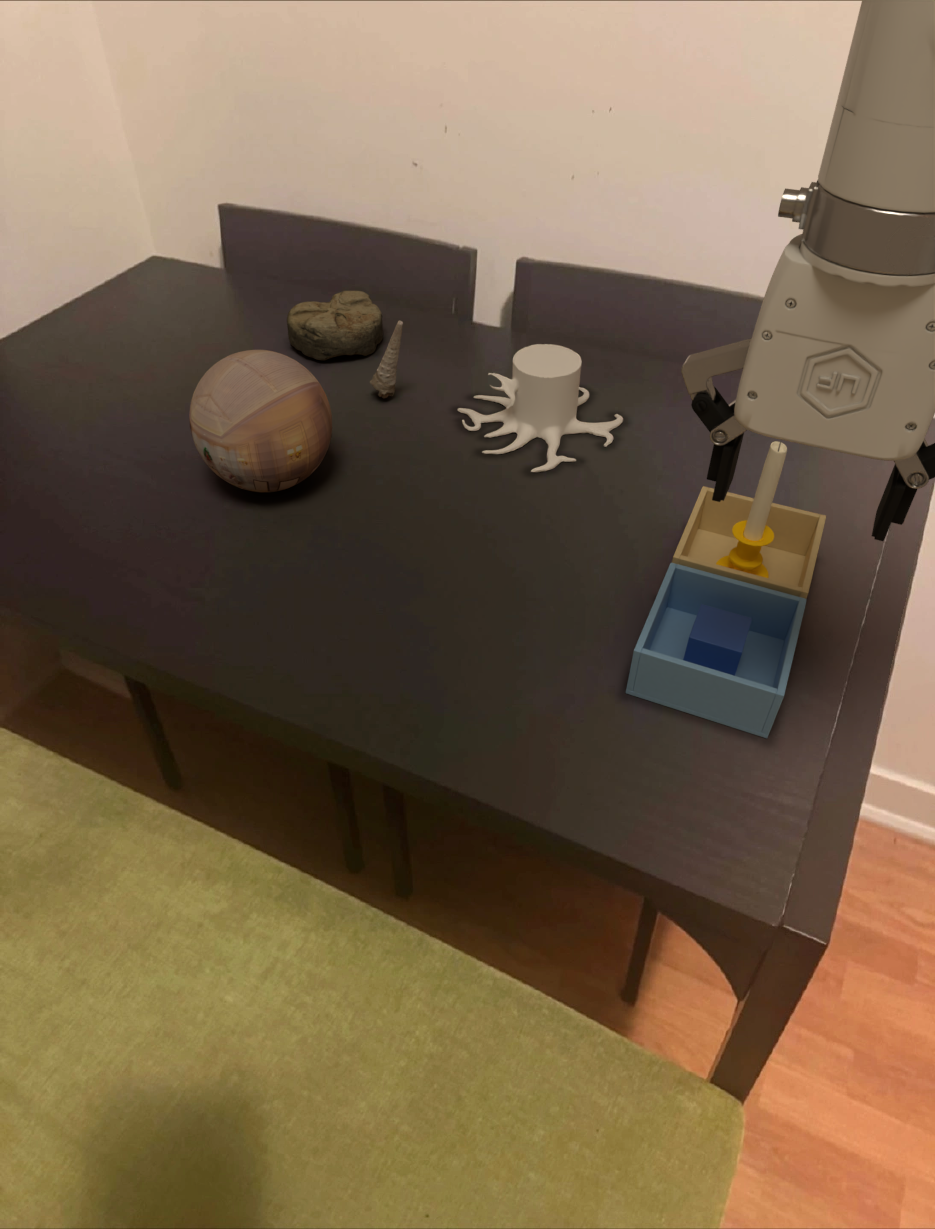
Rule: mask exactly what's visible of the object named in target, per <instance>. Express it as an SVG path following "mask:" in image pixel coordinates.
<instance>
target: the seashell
mask: <svg viewBox="0 0 935 1229" xmlns="http://www.w3.org/2000/svg"><path fill="white" fill-rule="evenodd" d="M403 327H404V322H403V321H402V320H397V323H396V325H395V327H394V330H393V332H392V335H391V337H390V339H389V341H388V344H387V347H386V348H385V352H384V354H383V356H382V358H381V361H380V363H379V366H378V367H377V368H376V370H375V371H376V372H375V373H374V374H373V376H372V378H371V379H370V380H369V384H370V385H371V386H372V387H373V389H375V390H376V391H378V394H377V396H378V397H379V398H382V399H387V398H388V397H393V396H394V394H395V391H396V383H397V381H396V380H397V370H398V362H399V354H400V347H401V342H402V341H401V339H402V334H403Z"/></svg>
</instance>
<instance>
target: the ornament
mask: <svg viewBox="0 0 935 1229" xmlns="http://www.w3.org/2000/svg"><path fill="white" fill-rule="evenodd" d="M188 414H189V416H188V417H189V418H188V419H189V431H190V435H191V437H192V441H193V444H194V447H195V448H196V451H197V453H198V454H199V456H200V458H201V459H202V461H203V462H204V463H205V464H206V466H207V467H208V468H209V469H210V470H211V471H212V472H213V473H214V474H215V475H216V476H218V477H219V478H220V479H222V480H223V481H224V482H226V483H228V484H230V485H232V486H234V487H236V488H239V489H242V490H246V491H250V492H254V493H274V492H279V491H284V490H286V489H287V490H288V489H289V488H292V487H295V486H296V485H299V484H300V483H301V482H303V481H305V480H307V479H308V478H309V477H310V476H311V475H312V474H313V473H314V472H315V471H316V470H317V469H318V467H319V466H320V464H321V463H322V462H323V460H324V459H325V456H326V454H327V452H328V450H329V448H330V443H331V440H332V435H333V434H332V432H333V415H332V409H331V405H330V402H329V400H328V396H327V393H326V392H325V391H324V388H323V387H322V385H321V383H320V382H319V381H318V379H317V378H316V376H315V375H314V374H313V373H312V372H311V371H310V370H309V369H308V368H306V367H305V366H304V365H303V364H301V363H300V362H298V361H297V360H296V359H294V358H293V357H290V356H288V355H286V354H283V353H280V352H278V351H277V352H276V351H274V350H273V351H272V350H266V349H248V350H243V351H238V352H235V353H232V354H229V355H227V356H225V357H223V358H221V359H220V360H218V361H217V362H215V363H214V364H213V365H212V366H211V367H210V368H209V369H208V370H207V371H205V373H204V374H203V376H202V377H201V378H200V380H199V381H198V383H197V385H196V387H195V389H194V391H193V394H192V397H191V400H190V405H189V412H188Z"/></svg>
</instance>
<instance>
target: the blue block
mask: <svg viewBox="0 0 935 1229" xmlns="http://www.w3.org/2000/svg"><path fill="white" fill-rule="evenodd" d="M751 621H752V618H750V617H746V616H742V615H739V614H735V613H732V612H728V611H725V610H721V609H718V608H714V607H710V606H707V605H703V604H701V605H700V608H699V611H698V614H697V616H696V619H695V622H694V625H693V627H692V630H691V633H690V636H689V639H688V643H687V647H686V651H685V655H684V658H683V660H684V661H687V662H691V663H694V664H697V665H701V666H704V667H707V668H710V669H714V670H717V671H720V672H724V673H727V674H730V675H734V676H735V674H736V670H737V667H738V664H739V661H740V658H741V655H742V652H743V649H744V645H745V642H746V638H747V635H748V632H749V628H750V625H751Z"/></svg>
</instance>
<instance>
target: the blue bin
mask: <svg viewBox="0 0 935 1229" xmlns="http://www.w3.org/2000/svg"><path fill="white" fill-rule="evenodd" d="M807 601H808V599H807V598H806V599H805V598H801V597H798V596H794V595H790V594H786V593H783V592H779V591H775V590H772V589H768V588H764V587H761V586H757V585H753V584H749V583H746V582H742V581H738V580H735V579H731V578H727V577H723V576H720V575H716V574H712V573H709V572H705V571H701V570H697V569H694V568H690V567H686V566H683V565H679V564H675V563H672V562H670V563H669V566H668V568H667V570H666V572H665V576H664V577H663V580H662V582H661V584H660V587H659V589H658V592H657V594H656V597H655V599H654V601H653V603H652V606H651V607H650V610H649V613H648V616H647V617H646V619H645V620H646V621H645V623H644V625H643V626H642V627H643V628H642V630H641V632H640V634H639V637H638V640H637V642H636V643H635V647H634V649H633V652H632V657H631V663H630V666H629V667H630V668H629V674H628V678H627V683H626V689H625V694H627V695H630V696H632V697H636V698H639V699H642V700H645V701H648V702H651V703H655V704H658V705H661V706H664V707H667V708H670V709H674V710H677V711H680V712H683V713H686V714H688V715H692V716H695V717H698V718H700V719H705V720H708V721H711V722H713V723H717V724H721V725H723V726H727V727H729V728H733V729H735V730H738V731H742V732H744V733H748V734H752V735H754V736H758V737H761V738H764V739H768V738H769V735H770V732H771V730H772V728H773V726H774V723H775V720H776V718H777V715H778V713H779V710H780V708H781V705H782V702H783V700H784V698H785V694H786V689H787V685H788V681H789V677H790V673H791V668H792V665H793V660H794V655H795V652H796V647H797V643H798V638H799V635H800V631H801V626H802V622H803V619H804V618H803V617H804V614H805V610H806V605H807ZM701 604H703V605H707V606H710V607H714V608H718V609H721V610H725V611H728V612H732V613H735V614H739V615H742V616H746V617H750V618H752V621H751V625H750V628H749V632H748V635H747V638H746V642H745V645H744V649H743V652H742V655H741V658H740V661H739V664H738V667H737V670H736V674H735V676H734V675H730V674H727V673H724V672H720V671H717V670H714V669H710V668H707V667H704V666H701V665H697V664H694V663H691V662H687V661H684V660H683V658H684V655H685V651H686V647H687V643H688V639H689V636H690V633H691V630H692V627H693V625H694V622H695V619H696V616H697V614H698V611H699V608H700V605H701Z"/></svg>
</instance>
